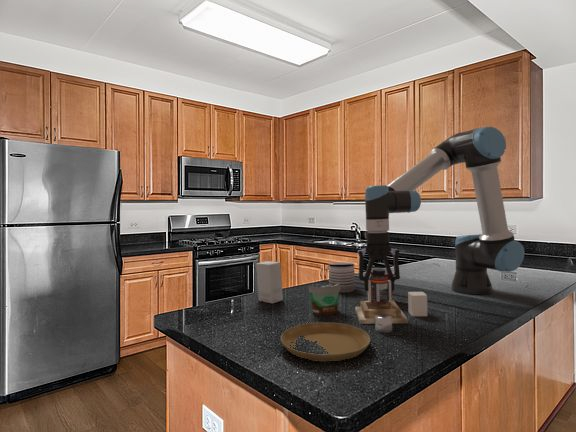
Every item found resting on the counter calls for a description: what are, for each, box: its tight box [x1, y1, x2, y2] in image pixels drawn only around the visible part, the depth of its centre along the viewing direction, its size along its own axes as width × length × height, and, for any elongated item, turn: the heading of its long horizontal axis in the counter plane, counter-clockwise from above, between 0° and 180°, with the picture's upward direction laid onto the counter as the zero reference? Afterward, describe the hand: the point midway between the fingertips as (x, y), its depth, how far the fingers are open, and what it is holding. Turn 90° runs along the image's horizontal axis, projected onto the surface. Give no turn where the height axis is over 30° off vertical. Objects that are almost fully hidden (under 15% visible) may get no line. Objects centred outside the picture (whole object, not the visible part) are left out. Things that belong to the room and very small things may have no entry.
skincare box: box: [255, 260, 284, 304], centre depth 152 cm, size 8×7×16 cm
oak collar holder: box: [354, 299, 409, 325], centre depth 127 cm, size 15×15×4 cm
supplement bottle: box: [369, 269, 389, 305], centre depth 127 cm, size 6×6×11 cm
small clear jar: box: [374, 314, 393, 334], centre depth 114 cm, size 5×5×4 cm
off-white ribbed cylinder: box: [328, 262, 356, 293], centre depth 166 cm, size 11×11×12 cm
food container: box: [308, 282, 341, 317], centre depth 132 cm, size 12×6×10 cm, turn 117°
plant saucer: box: [280, 322, 371, 362], centre depth 103 cm, size 24×24×3 cm
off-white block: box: [407, 291, 428, 317], centre depth 128 cm, size 5×5×7 cm
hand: (379, 300), depth 127 cm, fingers closed on supplement bottle, 6 cm apart
